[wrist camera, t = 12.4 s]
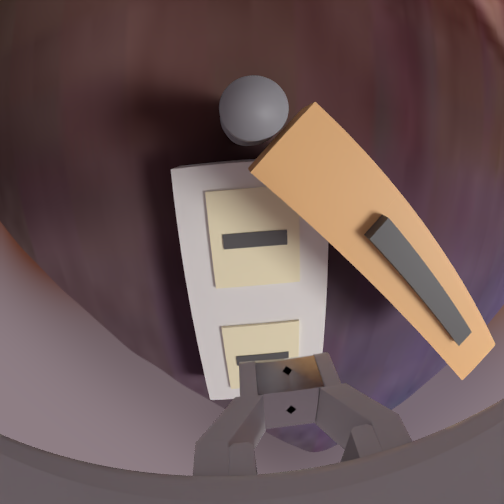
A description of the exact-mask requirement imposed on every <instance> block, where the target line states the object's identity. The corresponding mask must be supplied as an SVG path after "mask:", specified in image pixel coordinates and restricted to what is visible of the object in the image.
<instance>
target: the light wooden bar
mask: <svg viewBox="0 0 504 504" xmlns="http://www.w3.org/2000/svg"><path fill="white" fill-rule="evenodd" d="M288 108H289V107H288V101H287V98H286V95H285V93H284V91H283V90H282V89H281V88H280V86H279V85H277V84H276V83H275V82H273V81H272V80H270V79H268V78H265V77H262V76H245V77H242V78H239V79H237V80H235V81H234V82H232V83H231V84H230V85H229V86H228V87H227V88H226V89H225V90H224V92H223V94H222V96H221V99H220V103H219V113H220V117H221V120H222V122H223V124H224V126H225V128H226V129H227V131H228V132H229V133H230V134H231V135H232V136H233V137H235V138H236V139H238V140H241V141H245V142H255V141H259V140H263V139H266V138H269V137H271V136H273V135H274V134H276V133H277V132H278V131H279V130H280V129H281V128H282V127H283V125H284V123H285V121H286V119H287V116H288ZM248 169H249V171H250V173H251V174H253V175H254V176H255V177H256V178H257V179H259V180H260V181H261V182H262V183H263V184H264V185H266V186H267V187H268V188H269V189H270V190H271V191H272V192H274V193H275V194H276V195H277V196H278V197H279V198H281V199H282V200H283V201H284V202H285V203H286V204H287V205H288V206H290V207H291V208H292V209H293V210H294V211H295V212H296V213H297V214H299V215H300V216H301V217H302V218H303V219H304V220H305V221H306V222H307V223H309V224H310V225H311V226H312V227H313V228H314V229H315V230H316V231H317V232H318V233H319V234H321V235H322V236H323V237H324V238H325V239H326V240H327V241H328V242H329V243H330V244H331V245H332V246H333V247H334V248H336V249H337V250H338V251H339V252H340V253H341V254H342V255H343V256H344V257H345V258H346V259H347V260H348V261H349V262H350V263H351V264H352V265H353V266H354V267H355V268H356V269H357V270H358V271H359V272H361V273H362V274H363V275H364V276H365V277H366V278H367V279H368V280H369V281H370V282H371V283H372V284H373V285H374V286H375V287H376V288H377V289H378V290H379V291H380V292H381V293H382V294H383V295H384V296H385V297H386V298H387V299H388V300H389V301H390V302H391V303H392V304H393V306H394V307H395V308H396V309H397V310H398V311H399V312H400V313H401V314H402V315H403V316H404V317H405V318H406V319H407V320H408V321H409V322H410V323H411V324H412V325H413V326H414V327H415V328H416V329H417V331H418V332H419V333H420V334H421V335H422V336H423V337H424V338H425V339H426V340H427V341H428V342H429V344H430V345H431V346H432V347H433V348H434V349H435V350H436V351H437V352H438V353H439V355H440V356H441V357H442V358H443V359H444V360H445V361H446V362H447V364H448V365H449V366H450V367H451V368H452V369H453V370H454V371H455V373H456V374H457V375H458V376H459V377H460V378H461V380H463V379H464V378H465V377H466V376H467V375H468V374H469V373H470V372H471V371H472V370H473V369H474V368H475V367H476V366H477V365H478V364H479V362H481V360H482V359H483V358H484V357H485V356H486V355H487V354H488V353H489V352H490V350H491V349H492V348H493V347H494V346H495V342H494V340H493V338H492V336H491V334H490V332H489V330H488V328H487V326H486V324H485V322H484V320H483V318H482V316H481V314H480V312H479V310H478V309H477V307H476V305H475V303H474V301H473V299H472V298H471V296H470V294H469V292H468V291H467V289H466V287H465V285H464V284H463V282H462V280H461V279H460V277H459V275H458V274H457V272H456V271H455V269H454V267H453V266H452V264H451V263H450V261H449V260H448V258H447V257H446V255H445V253H444V252H443V250H442V249H441V247H440V246H439V245H438V243H437V242H436V240H435V239H434V237H433V236H432V234H431V233H430V232H429V230H428V229H427V227H426V226H425V225H424V223H423V222H422V220H421V219H420V218H419V216H418V215H417V214H416V212H415V211H414V210H413V208H412V207H411V206H410V205H409V203H408V202H407V201H406V199H405V198H404V197H403V196H402V194H401V193H400V192H399V191H398V189H397V188H396V187H395V186H394V185H393V183H392V182H391V181H390V180H389V179H388V177H387V176H386V175H385V174H384V173H383V172H382V170H381V169H380V168H379V167H378V166H377V165H376V163H375V162H374V161H373V160H372V159H371V158H370V157H369V156H368V155H367V153H366V152H365V151H364V150H363V149H362V148H361V147H360V146H359V145H358V144H357V143H356V142H355V141H354V140H353V138H352V137H351V136H350V135H349V134H348V133H347V132H346V131H345V130H344V129H343V128H342V127H341V126H340V125H339V124H338V123H337V122H336V121H335V120H334V119H333V118H332V117H331V116H330V115H329V114H327V113H326V112H325V111H324V110H323V109H322V108H321V107H320V106H319V105H318V104H317V103H316V102H314V103H312V104H310V105H308V106H306V107H304V108H303V109H302V110H301V111H300V112H299V113H298V114H297V115H296V116H295V117H294V118H293V119H292V120H291V121H290V122H289V123H288V124H287V125H286V127H285V128H284V129H283V130H282V131H281V132H280V133H279V134H278V135H277V136H276V137H275V138H274V140H273V141H272V142H271V143H270V144H269V145H268V146H267V147H266V148H265V150H264V151H263V152H262V153H261V154H260V155H259V156H258V157H257V158H256V160H255V161H254V162H253V163H252V164H251V165H250V166H249V168H248Z"/></svg>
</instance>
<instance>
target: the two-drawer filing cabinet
mask: <svg viewBox="0 0 504 504" xmlns="http://www.w3.org/2000/svg"><path fill="white" fill-rule="evenodd" d="M220 122H221V126H222V128H223V131H224V132H225V134H226V135H227V136H228V138H229V139H230V140H231V141H232V142H234V143H235V144H237V145H240V146H253V145H258V144H261V143H264V142H266V141H267V140H269V139H270V138H271V137H272V136H271V137H269V138H266V139H263V140H259V141H255V142H245V141H241V140H238V139H236V138H235V137H233V136H232V135H231V134H230V133H229V132H228V131H227V129H226V128H225V126H224V124H223V122H222V120H221V117H220ZM255 160H256V159H247V160H234V161H222V162H211V163H201V164H192V165H183V166H178V167H176V168H173V169H171V177H172V186H173V195H174V203H175V211H176V219H177V226H178V233H179V240H180V247H181V254H182V260H183V267H184V273H185V279H186V285H187V291H188V296H189V302H190V307H191V313H192V318H193V323H194V328H195V333H196V338H197V343H198V348H199V352H200V357H201V362H202V366H203V371H204V375H205V379H206V384H207V388H208V392H209V396H210V400H221V399H234V398H235V397H240V381H239V363H240V362H247V361H259V360H273V359H285V358H293V357H301V356H308V355H313V354H320V353H322V351H323V340H324V327H325V312H326V295H327V273H328V241H327V240H326V239H325V238H324V237H323V236H322V235H321V234H319V233H318V232H317V231H316V230H315V229H314V228H313V227H312V226H311V225H310V224H309V223H307V222H306V221H305V220H304V219H303V218H302V217H301V216H300V215H299V214H297V213H296V212H295V211H294V210H293V209H292V208H291V207H290V206H288V205H287V204H286V203H285V202H284V201H283V200H282V199H281V198H279V197H278V196H277V195H276V194H275V193H274V192H272V191H271V190H270V189H269V188H268V187H267V186H266V185H264V184H263V183H262V182H261V181H260V180H259V179H257V178H256V177H255V176H254V175H253V174H251V173H250V171H249V169H248V168H249V166H250V165H251V164H252V163H253V162H254V161H255Z"/></svg>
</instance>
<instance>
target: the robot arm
mask: <svg viewBox="0 0 504 504" xmlns="http://www.w3.org/2000/svg"><path fill="white" fill-rule="evenodd" d="M239 381H240V397H235V398H234V399H233V401H232V402H231V403H230V404H229V405H228V406H227V408H226V409H225V410H224V411H223V412H222V413H221V415H220V416H219V417H218V418H217V419H216V420H215V422H214V423H213V424H212V425H211V426H210V427H209V428H208V430H207V431H206V432H205V433H204V434H203V435H202V436H201V437H200V439H199V440H198V441H197V442H196V445H195V456H194V468H193V476H182V475H168V474H156V473H146V472H139V471H131V470H124V469H118V468H113V467H107V466H102V465H97V464H92V463H88V462H84V461H79V460H75V459H71V458H68V457H64V456H60V455H57V454H53V453H50V452H47V451H44V450H41V449H38V448H35V447H32V446H29V445H26V444H24V443H21V442H18V441H16V440H13V439H10V438H8V437H5V436H3V435H1V434H0V504H504V399H502V400H500V401H499V402H497V403H495V404H494V405H492V406H490V407H488V408H486V409H485V410H483V411H481V412H479V413H477V414H475V415H473V416H471V417H469V418H467V419H465V420H463V421H461V422H458V423H456V424H454V425H452V426H450V427H447V428H445V429H443V430H441V431H438V432H436V433H434V434H431V435H428V436H426V437H423V438H421V439H418V440H415V441H413V442H412V440H411V438H410V436H409V434H408V432H407V430H406V428H405V426H404V424H403V422H402V420H401V418H400V416H399V414H397V413H395V412H393V411H392V410H390V409H388V408H387V407H385V406H383V405H381V404H380V403H378V402H376V401H374V400H373V399H371V398H369V397H368V396H366V395H364V394H363V393H361V392H359V391H357V390H356V389H354V388H352V387H351V386H349V385H348V384H346V383H345V384H341V382H340V379H339V377H338V375H337V372H336V370H335V367H334V365H333V363H332V360H331V358H330V355H329V354H328V353H327V352H326V353H320V354H313V355H308V356H301V357H293V358H285V359H273V360H259V361H247V362H240V363H239ZM309 423H316V425H317V426H319V427H320V428H321V429H322V430H323V431H324V432H325V433H326V434H327V435H329V436H330V437H331V438H332V439H333V440H334V441H335V442H336V443H338V444H339V445H340V446H341V447H342V448H343V449H345V451H344V454H343V456H342V459H341V462H340V463H336V464H330V465H326V466H320V467H314V468H308V469H302V470H296V471H288V472H280V473H270V474H259V475H257V467H256V460H255V451H254V449H255V447H256V446H257V444H258V442H259V441H260V439H261V437H262V435H263V434H264V432H265V429H270V428H278V427H285V426H290V425H291V426H293V425H302V424H309Z"/></svg>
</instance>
